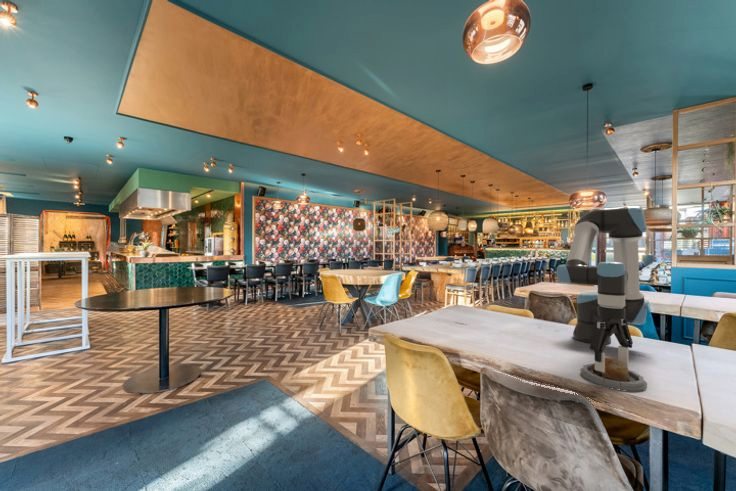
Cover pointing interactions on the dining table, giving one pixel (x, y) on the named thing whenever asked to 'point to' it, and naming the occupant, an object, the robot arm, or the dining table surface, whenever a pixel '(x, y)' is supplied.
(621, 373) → the bread roll
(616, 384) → the slate plate
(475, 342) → the dining table surface
